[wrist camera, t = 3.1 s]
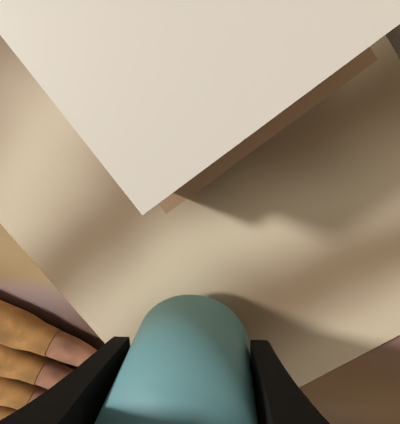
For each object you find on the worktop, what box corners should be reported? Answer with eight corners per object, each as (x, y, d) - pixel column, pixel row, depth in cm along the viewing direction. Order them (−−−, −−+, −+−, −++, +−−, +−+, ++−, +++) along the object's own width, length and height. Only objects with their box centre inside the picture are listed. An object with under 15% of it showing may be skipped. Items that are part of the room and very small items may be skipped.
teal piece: (271, 360, 12) (296, 480, 8) (182, 410, 13) (160, 543, 9) (204, 273, 12) (190, 352, 7) (115, 331, 13) (56, 433, 8)
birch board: (506, 261, 13) (525, 269, 12) (193, 428, 16) (191, 443, 15) (215, -221, 10) (214, -252, 9) (-90, 100, 13) (-109, 97, 12)
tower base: (337, 80, 11) (377, 59, 8) (180, 196, 12) (166, 214, 9) (219, -105, 10) (217, -206, 7) (64, 43, 11) (9, 10, 8)
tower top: (350, 56, 8) (419, 8, 5) (169, 191, 9) (142, 214, 6) (212, -167, 7) (202, -373, 4) (33, 14, 8) (-68, -52, 6)
